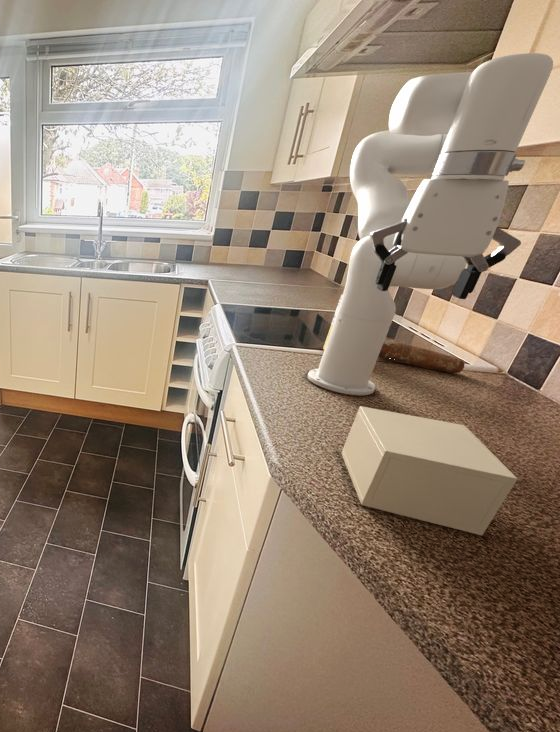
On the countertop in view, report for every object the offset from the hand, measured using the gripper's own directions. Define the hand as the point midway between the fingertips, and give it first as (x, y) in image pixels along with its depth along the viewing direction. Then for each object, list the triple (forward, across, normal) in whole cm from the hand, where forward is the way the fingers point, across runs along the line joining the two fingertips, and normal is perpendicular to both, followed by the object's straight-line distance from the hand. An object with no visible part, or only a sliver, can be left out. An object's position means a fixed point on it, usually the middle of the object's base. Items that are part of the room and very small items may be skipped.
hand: (418, 293), depth 64 cm
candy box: (+24, -5, -47) cm, 53 cm away
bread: (+24, -20, -47) cm, 57 cm away
